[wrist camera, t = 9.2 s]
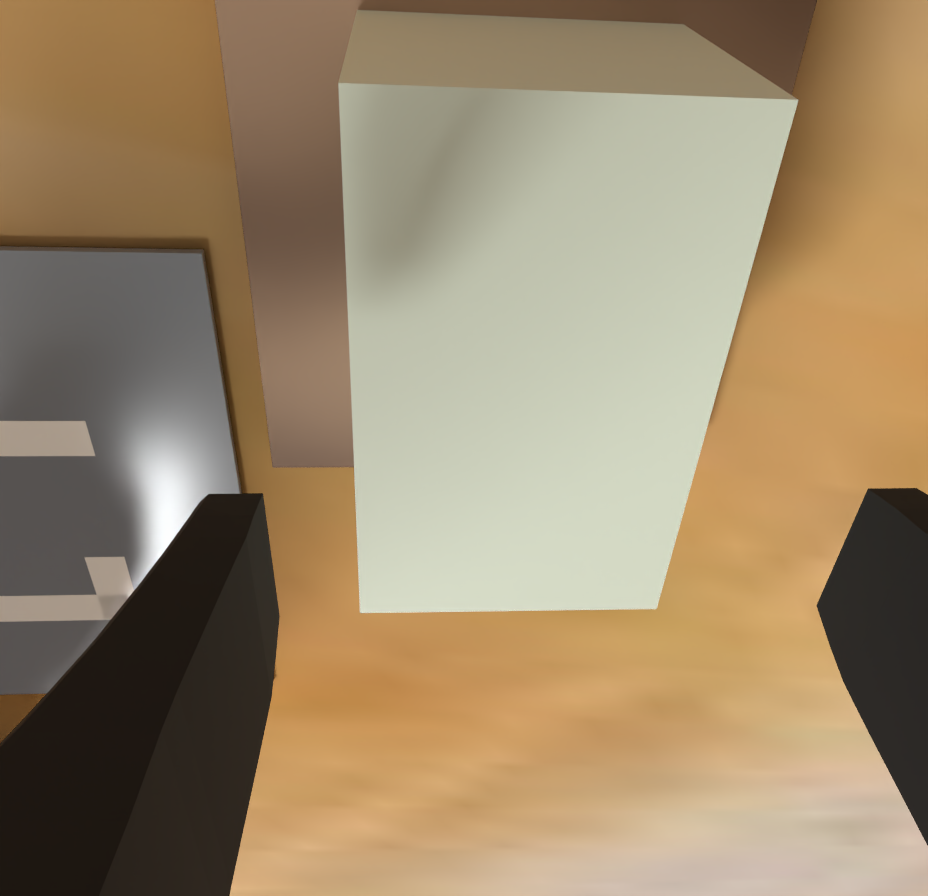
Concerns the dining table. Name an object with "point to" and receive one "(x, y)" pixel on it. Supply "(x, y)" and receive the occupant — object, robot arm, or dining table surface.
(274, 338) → the walnut pad
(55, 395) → the grey tile
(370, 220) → the sage block
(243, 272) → the dining table surface
